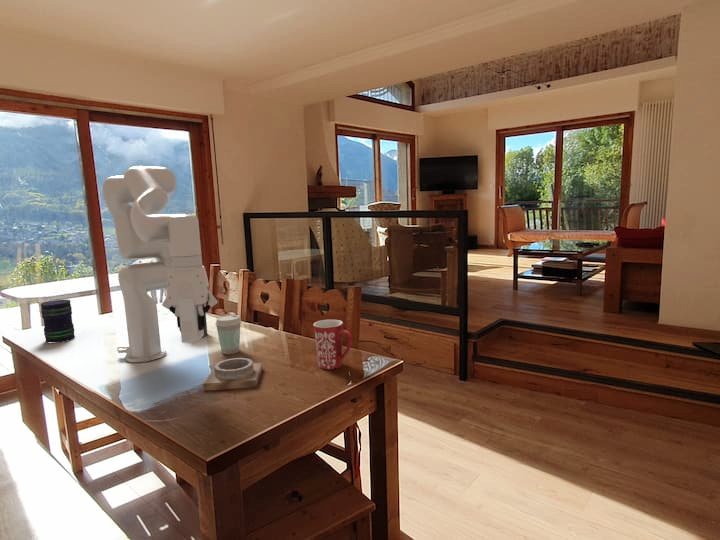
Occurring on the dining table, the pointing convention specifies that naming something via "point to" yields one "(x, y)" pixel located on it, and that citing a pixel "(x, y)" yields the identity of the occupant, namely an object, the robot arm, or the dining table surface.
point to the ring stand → (233, 374)
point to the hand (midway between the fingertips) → (192, 328)
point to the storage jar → (57, 320)
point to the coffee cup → (229, 333)
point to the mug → (330, 343)
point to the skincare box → (189, 320)
